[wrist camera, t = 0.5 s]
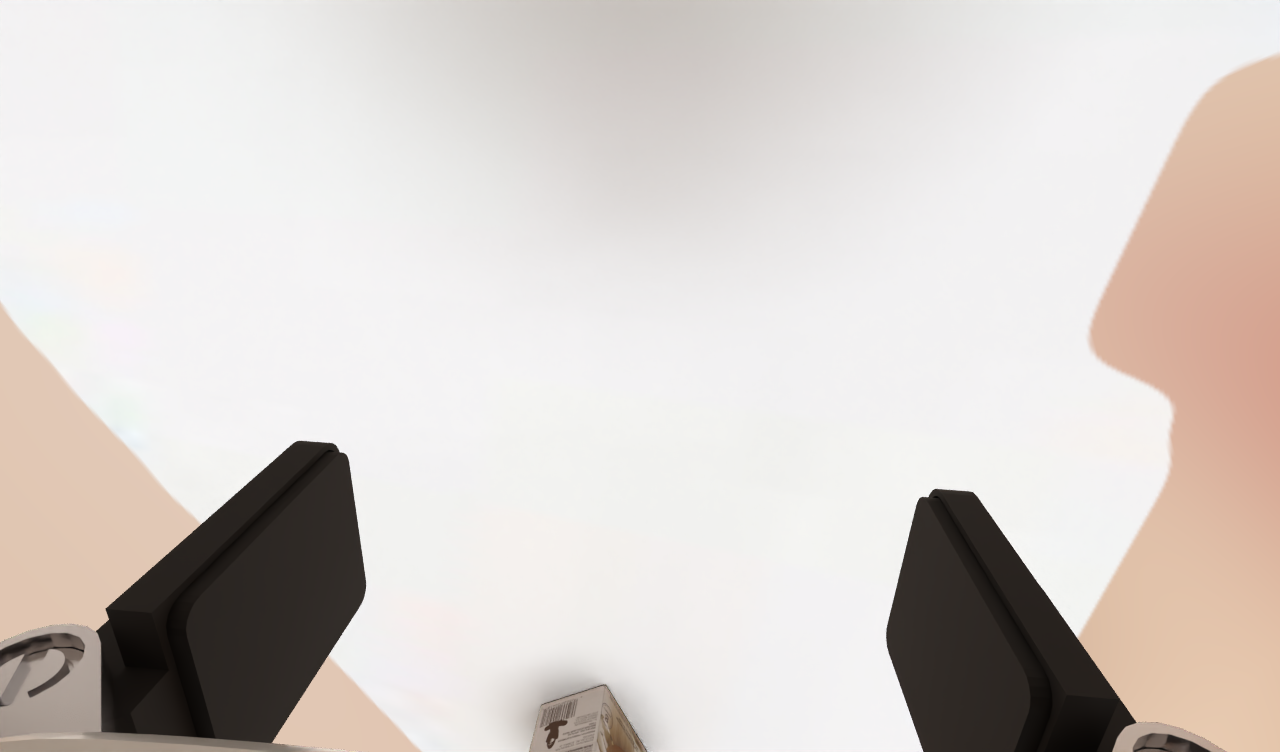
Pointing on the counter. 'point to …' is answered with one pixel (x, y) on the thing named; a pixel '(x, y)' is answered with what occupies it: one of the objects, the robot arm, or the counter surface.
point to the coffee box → (584, 725)
